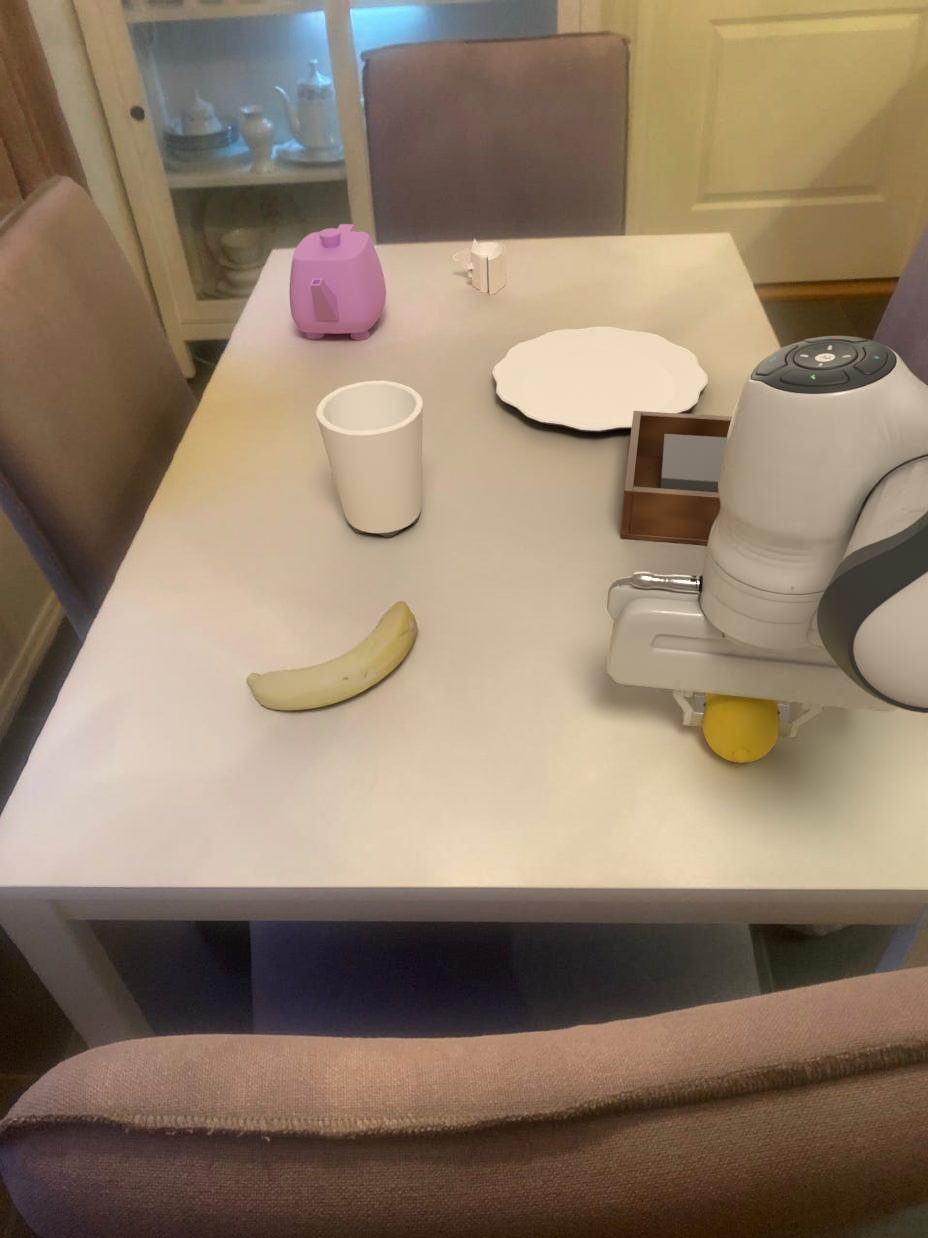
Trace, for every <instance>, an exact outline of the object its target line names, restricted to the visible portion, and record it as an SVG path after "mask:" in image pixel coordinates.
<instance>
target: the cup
mask: <svg viewBox="0 0 928 1238" xmlns="http://www.w3.org/2000/svg"><path fill="white" fill-rule="evenodd" d="M423 409H424V403H423V397H422V396H421V395H420V394H419V392H417V391H416V390H415V389H413V388H412V387H410V386H408V385H405V384H402V383H399V382H395V381H390V380H367V381H360V382H359V381H358V382H356V383H350V384H347V385H344V386H342V387H337V389H335V390H334V391H332V392H329V394H327V395H326V396H325V397H324V398H323V399H321V400H320V402H319V404H318V405H317V407H316V410H315V411H316V412H315V417H316V420H317V421H316V422H317V425H318V427H319V431H320V434H321V438H322V442H323V446H324V449H325V452H326V455H327V458H328V459H327V460H328V463H329V465H330V469H331V473H332V476H333V480H334V483H335V485H336V486H335V487H336V490H337V493H338V497H339V500H340V503H341V507H342V511H343V514H344V517H345V519H346V521H347V522H348V524H349V526H350V527H351V528H352V530H353V531H355V533H357V534H366V533H368V534H373V535H374V534H375V535H379V536H381V537H384V538H393V537H394V536H395V535H397V534H398V533H399V532H401V531H402V530H403V529H405V528H406V527H409V526H412V525H415V524H417V523H418V521H419V519H420V516H421V510H422V478H423V477H422V475H423V472H422V471H423V470H422V469H423V464H422V463H423V417H424V415H423V414H424V413H423V411H424V410H423Z"/></svg>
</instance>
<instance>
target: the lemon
mask: <svg viewBox="0 0 928 1238" xmlns="http://www.w3.org/2000/svg"><path fill="white" fill-rule="evenodd" d="M703 696H705V700H706V703H705V705H704V706H705V707H706V708H705V716H704V718H703V727H702V732H703V736H704V738H705V741H706V742H707V744H708V746H709V747H710V748H711V750H712V751H713V752H714V753H715V754H717V755H718V756H720V757H721V758H723V759H724V760H727V761H729V762H733V763H741V764H742V763H751V762H754V761H758V760H760V759H761V758H763V757H765V756H766V755H768V754H769V753H770V751H772V750H773V747H774V746H775V745H776V743H777V741H778V737H779V736H778V735H779V712H778V704H779V702H778V701H777V700H767V699H758V698H749V697H739V696H730V695H721V694H711V693H704V694H703Z"/></svg>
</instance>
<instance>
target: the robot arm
mask: <svg viewBox="0 0 928 1238" xmlns="http://www.w3.org/2000/svg"><path fill="white" fill-rule="evenodd" d="M731 416H732V418H731V422H730V426H729V430H728V434H727V438H726V442H725V447H724V452H723V457H722V462H721V467H720V473H719V479H718V494H719V499H720V511H719V514H718V516H717V518H716V519H715V521H714V523H713V525H712V528H711V530H710V534H709V539H708V545H706V551H705V558H704V563H703V569H702V574H701V575H690V574H680V573H679V574H678V573H677V574H672V573H671V574H661V573H660V574H659V573H654V572H651V571H641V570H640V571H634V572H632V575H629V576H623V577H621V578H618V579H616V580H615V581H614V582H612V583H611V585H610V586H609V588H608V591H607V600H606V601H607V603H606V608H607V612H608V614H609V616H610V618H611V620H613V622H612V627H611V632H610V637H609V645H608V652H607V661H606V662H607V663H606V672H607V674H608V675H609V676H610V677H611V678H612V679H613V681H615V683H617V684H620V685H627V686H637V687H646V688H647V687H649V688H658V689H664V690H665V689H666V690H672V697H673V698H674V700H675V701H676V703H677V704H678V706H679V707H680V708H681V710H682V711H683V712H682V725H683V726H690V727H700V728H703V718H704V716H705V708H706V707H705V706H704V705H705V703H706V700H705V696H704V695H699V694H695V693H704V694H705V693H711V694H721V695H730V696H739V697H749V698H758V699H767V700H777V702H778V701H779V702H788V703H789V704H781V703H780V704H779V703H778V712H779V735H778V737H786V738H794V739H795V738H796V737H797V734H798V732H799V729H800V725H803V724H805V723H806V722H808V721H809V720H811V719H812V718H813V717H815V716H817V715H819V714H820V713H821V712H822V710H823V707H824V706H825V707H833V708H843V709H853V710H862V711H871V712H880V713H890V712H893V711H895V710H897V709H898V708H899V709H902V710H905V711H908V712H914V713H919V714H928V385H927V384H926V383H925V382H923V381H922V380H920V379H919V378H918V377H917V376H916V375H915V374H914V373H913V372H912V371H911V370H910V369H909V368H908V366H907V365H906V363H905V362H904V361H903V360H902V358H901V356H900V355H899V354H898V353H897V352H895V350H893V349H891V348H890V347H888V346H887V345H884V344H883V343H880V342H878V341H876V340H871V339H867V338H863V337H859V336H853V335H852V336H851V335H825V336H817V337H811V338H806V339H804V340H801V341H797V342H794V343H791V344H788V345H785V346H782V347H780V348H779V349H777V350H776V351H774V352H773V353H771V354H769V355H768V356H767V357H765V358H764V359H762V360H761V361H760V362H759V363H758V364H757V365H756V366H755V367H754V369H753V370H752V371H751V372H750V373H749V375H748V376H747V378H746V379H745V381H744V383H743V385H742V387H741V390H740V391H739V395H738V396H737V400H736V402H735V406H734V408H733V412H732V415H731Z"/></svg>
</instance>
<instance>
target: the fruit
mask: <svg viewBox="0 0 928 1238" xmlns="http://www.w3.org/2000/svg"><path fill="white" fill-rule="evenodd" d="M418 630H419V628H418V622H417V620H416V617H415V615H414V613H413V612H412V611H411V609H410V607H409V605H408V604H407V602H405V601H404V600H398V601H397V602H395V603H394V604H393V605H392V606H391V607H390V608H389V609H388V610H387V611H386V612H385V613H384V614H383V616H382V617H381V618H380V620H379V621H378V623H377V624H376V626H375V628H374V629H373V631H372V632H371V633H370V634H369V635H368V636H367V637H366V638H365V639H364V640H363V641H362V642H360V644H358V645H356V646H355V647H354V648H352V649H351V650H349V651H348V652H345V653H344V654H342V655H340V656H338V657H336V658H334V659H331V660H329V661H326V662H322V663H320V664H319V663H318V664H316V665H312V666H307V667H301V668H294V669H284V670H275V671H269V672H265V673H263V674H259V673H257V672H256V673H255V672H251V673H250V674H249V675H248V676H247V677H246V679H245V681H246V684H247V685H248V686H249V688H250V690H251V693H252V695H253V696H254V697H255V699H256V700H257V702H258V703H259V704H260V705H262V706H263V707H265V708H267V709H271V710H277V711H301V710H303V711H304V710H311V709H316V708H321V707H326V706H330V705H333V704H337V703H340V702H342V701H345V700H348V699H350V698H353V697H355V696H357V695H359V694H361V693H363V692H364V691H366V690H368V689H369V688H371V687H373V686H375V685H376V684H378V683H379V682H380V681H382V680H383V679H384V678H386V677H387V676H388V675H389V674H391V673H392V671H394V670H395V669H396V668H397V667H398V666H399V665H400V664H401V663H402V661H403V660H404V659H405V658H406V656H407V655H408V653H409V652H410V650H411V649H412V647H413V645H414V643H415V640H416V636H417V634H418Z"/></svg>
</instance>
